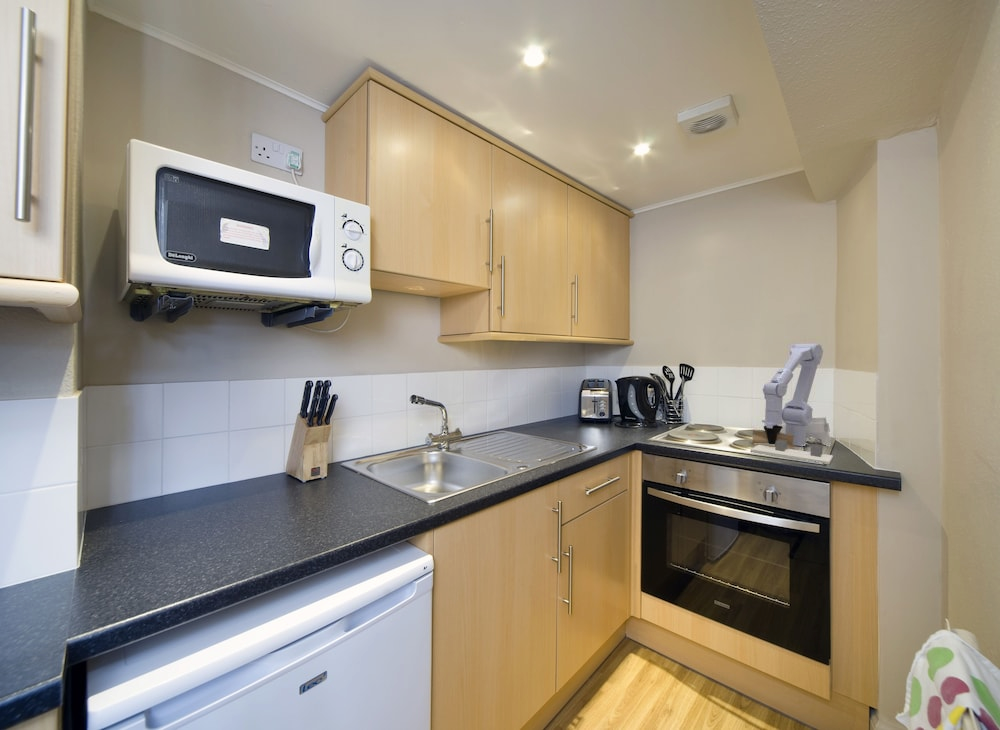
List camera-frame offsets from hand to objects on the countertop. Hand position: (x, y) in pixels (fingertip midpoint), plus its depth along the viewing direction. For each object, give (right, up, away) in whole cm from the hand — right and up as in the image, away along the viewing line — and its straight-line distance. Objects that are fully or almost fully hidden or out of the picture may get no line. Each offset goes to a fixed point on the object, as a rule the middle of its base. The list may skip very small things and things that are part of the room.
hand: (772, 443), depth 167 cm
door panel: (0, -2, 0) cm, 2 cm away
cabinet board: (-2, -2, -14) cm, 14 cm away
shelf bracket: (+20, -2, +14) cm, 24 cm away
